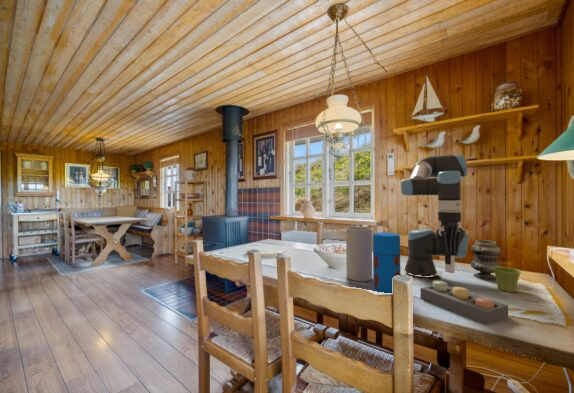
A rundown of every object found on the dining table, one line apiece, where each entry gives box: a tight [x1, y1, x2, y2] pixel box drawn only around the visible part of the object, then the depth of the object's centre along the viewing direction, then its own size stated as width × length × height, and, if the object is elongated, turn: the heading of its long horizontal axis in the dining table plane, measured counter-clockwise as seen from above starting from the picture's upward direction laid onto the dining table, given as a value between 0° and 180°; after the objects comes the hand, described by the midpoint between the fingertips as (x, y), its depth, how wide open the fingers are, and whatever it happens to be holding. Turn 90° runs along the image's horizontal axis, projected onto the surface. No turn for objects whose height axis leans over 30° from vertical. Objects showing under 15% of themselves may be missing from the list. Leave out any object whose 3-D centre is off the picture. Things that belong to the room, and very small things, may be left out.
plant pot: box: [493, 266, 522, 293], centre depth 112 cm, size 9×9×9 cm
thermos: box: [372, 232, 401, 293], centre depth 110 cm, size 11×11×25 cm
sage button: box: [432, 280, 448, 293], centre depth 103 cm, size 5×5×4 cm
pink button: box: [475, 297, 494, 309], centre depth 88 cm, size 5×5×4 cm
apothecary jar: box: [470, 239, 502, 281], centre depth 129 cm, size 12×12×18 cm
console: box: [420, 284, 509, 326], centre depth 95 cm, size 24×12×4 cm, turn 24°
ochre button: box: [452, 286, 470, 300], centre depth 95 cm, size 5×5×4 cm
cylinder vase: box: [345, 226, 373, 282], centre depth 130 cm, size 12×12×25 cm
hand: (449, 271), depth 100 cm, fingers closed
